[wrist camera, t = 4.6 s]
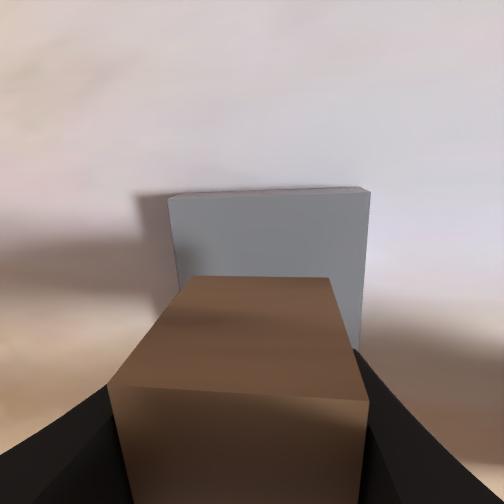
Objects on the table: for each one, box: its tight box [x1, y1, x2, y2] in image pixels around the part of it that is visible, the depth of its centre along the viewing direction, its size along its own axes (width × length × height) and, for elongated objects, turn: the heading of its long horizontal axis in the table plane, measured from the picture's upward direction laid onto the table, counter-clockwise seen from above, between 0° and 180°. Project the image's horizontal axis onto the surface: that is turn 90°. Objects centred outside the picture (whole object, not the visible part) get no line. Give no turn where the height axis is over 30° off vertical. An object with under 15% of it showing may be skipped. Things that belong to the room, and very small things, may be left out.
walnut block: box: [107, 275, 369, 504], centre depth 8 cm, size 4×4×5 cm
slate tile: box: [167, 187, 371, 351], centre depth 15 cm, size 9×9×2 cm
